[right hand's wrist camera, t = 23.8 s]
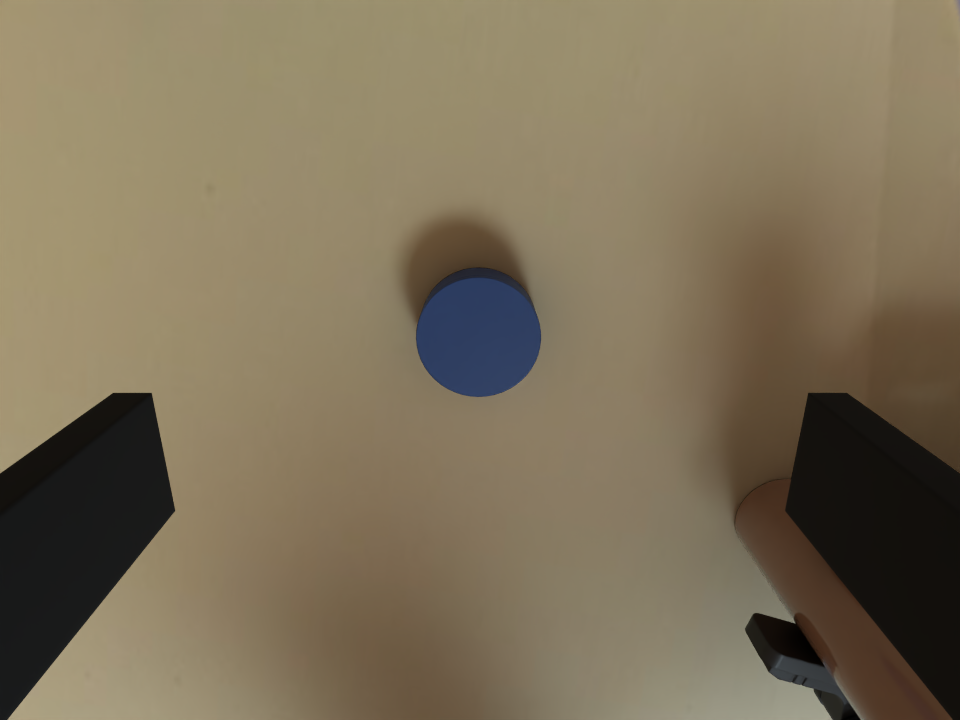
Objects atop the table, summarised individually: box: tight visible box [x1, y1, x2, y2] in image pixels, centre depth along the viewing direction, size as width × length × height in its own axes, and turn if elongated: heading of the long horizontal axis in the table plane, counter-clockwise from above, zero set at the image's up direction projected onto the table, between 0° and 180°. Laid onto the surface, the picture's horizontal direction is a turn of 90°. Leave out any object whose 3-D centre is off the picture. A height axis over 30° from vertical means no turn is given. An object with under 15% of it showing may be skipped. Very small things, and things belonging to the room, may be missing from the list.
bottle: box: [735, 479, 953, 720], centre depth 22 cm, size 4×4×15 cm
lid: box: [416, 268, 541, 397], centre depth 25 cm, size 5×5×2 cm
